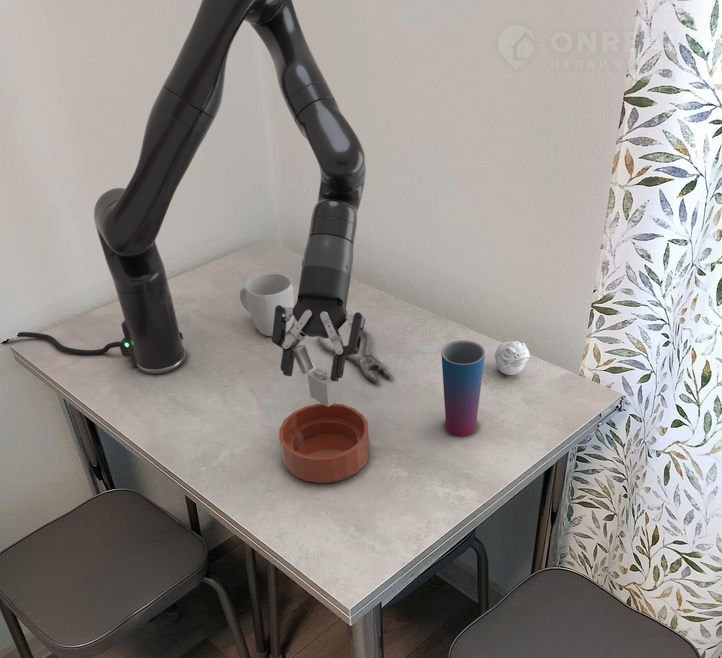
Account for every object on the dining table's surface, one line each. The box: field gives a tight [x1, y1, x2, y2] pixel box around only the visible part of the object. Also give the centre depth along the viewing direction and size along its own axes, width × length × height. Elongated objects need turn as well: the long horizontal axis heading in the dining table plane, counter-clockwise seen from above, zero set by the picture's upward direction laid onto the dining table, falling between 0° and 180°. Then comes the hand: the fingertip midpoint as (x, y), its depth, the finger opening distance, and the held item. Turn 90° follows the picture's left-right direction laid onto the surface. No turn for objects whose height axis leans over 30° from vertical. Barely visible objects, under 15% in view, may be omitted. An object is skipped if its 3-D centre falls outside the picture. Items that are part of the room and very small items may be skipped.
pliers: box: [317, 329, 391, 385], centre depth 154 cm, size 10×1×20 cm
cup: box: [440, 339, 486, 437], centre depth 132 cm, size 7×7×15 cm
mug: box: [239, 272, 295, 337], centre depth 161 cm, size 13×9×10 cm
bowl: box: [278, 402, 371, 484], centre depth 131 cm, size 14×14×6 cm
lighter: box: [292, 344, 336, 407], centre depth 124 cm, size 7×2×8 cm, turn 45°
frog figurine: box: [494, 340, 531, 376], centre depth 145 cm, size 6×7×7 cm
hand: (310, 377), depth 123 cm, fingers closed on lighter, 7 cm apart
